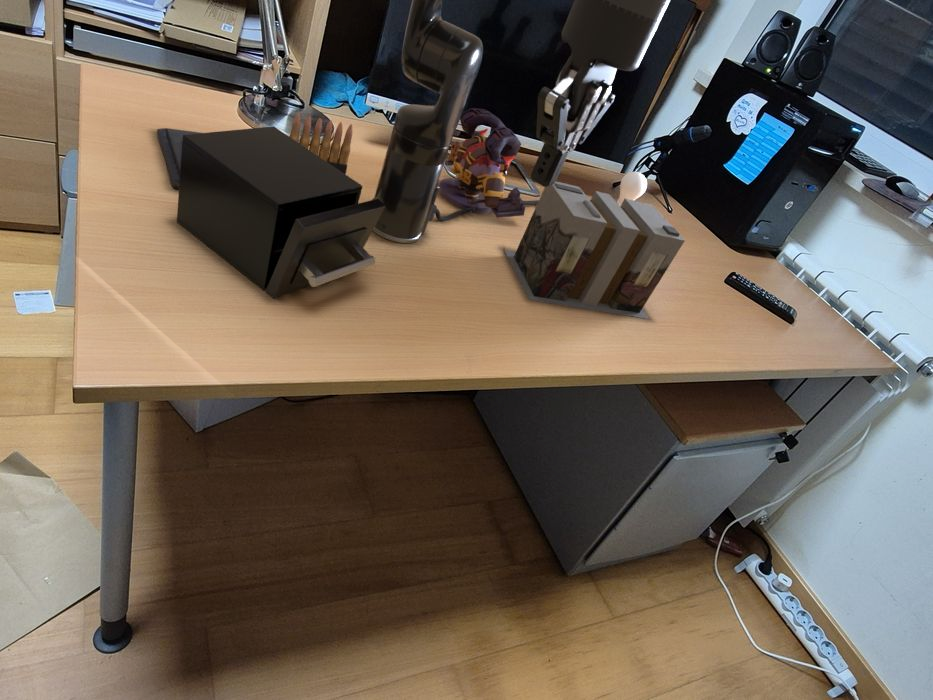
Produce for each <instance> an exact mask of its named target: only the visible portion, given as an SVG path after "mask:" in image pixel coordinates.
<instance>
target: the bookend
mask: <svg viewBox="0 0 933 700" xmlns="http://www.w3.org/2000/svg"><path fill="white" fill-rule="evenodd" d="M538 200H539V201H538V204H536V206H535V208H534V211H533V213H532V215H531V217H530V220H529V222H528V224H527V226H526V228H525V230H524V233H523V235H522V237H521V240H520V242H519V244H518V245H517V249H515V251H514V250H510V249H503V251H504V253H505V255H506V257H507V259H508V261H509V263H510V265H511V267H512V269H513V271H514V273H515V275H516V277H517V279H518V281H519V282H520V283H519V284H520V285H521V288H522V289H523V291H524V293H525V294H526V297H527V299H528V300H529V301H534V302H539V303H546V304H552V305H558V306H559V305H560V306H565V307H571V308H577V309H585V310H591V311H597V312H601V313H602V312H603V313H610V314H616V315H621V316H628V317H634V318H640V319H647V320H650V319H649V316H648V315H647V314H646V312H645V311H644V307H645V305H646V303H647V302H648V300H649V299H650V297H651V296H652V294H653V293H654V291H655V289H656V288H657V286H658V285H659V283H660V281H661V280H662V278H663V277H664V276H665V273H666V272H667V270H668V268H670V266H671V264H672V263H673V261H674V259H675V257H676V256H677V254H678V253H679V251H680V250H681V248H682V246H683V245H684V243H685V241H686V240H685V239H684V238H683V236H681V234H680V232H679V231H678V230H677V229H676V228H675V227H674V226H672V224H671V223H670V222H669V221H668V220H667V219H666V218H665V216H663V215H662V213H661V212H660V211H659V210H658V209H657V208H656V207H655V206H654V204H650V203H647V202H646V203H645V202H642V201H638V200H630V199H626V198H625V199H624V201H623V203H622V204H621V206H619V205H618V204H617V203H618V201H616V200H615V199H614V197H612V195H611V194H609V193H606V192H601V191H597V190H595V191H594V192H593V194H592V196H591V198H589V197H588V196H587V194H585V192H584V191H583V190H582V188H581V187H580V186H577V185H574V184H573V185H572V184H569V183H564V182H560V181H557V180H556V182H555V183H554V184H553V185H550V186H547V187H544V188H543V191H542V192H541V195H540V197H539V199H538Z"/></svg>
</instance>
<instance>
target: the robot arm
mask: <svg viewBox="0 0 933 700" xmlns="http://www.w3.org/2000/svg"><path fill="white" fill-rule="evenodd" d="M444 2H445V0H411V4H410V8H409V12H408V18H407V23H406V27H405V31H404V37H403V41H402V42H403V43H402V47H401V48H402V49H401V69H402V72H403V74H404V75H405V77H406V78H408V79H409V80H411V81H412V82H413V83H416V84H418V85H420V86H422V87H424V88H426V89H428V90H430V91H432V92H434V93H436V94H438V95H439V97H438V99H437V101H436V103H435V104H431V105H430V104H429V105H425V104H417V103H416V104H415V103H413V104H410V103H409V104H405V105H402V106H401V107H399V109H398V110H397V113H396V115H395V118H394V123H393V126H392V130H391V133H390V137H389V141H388V144H387V147H386V148H387V149H386V152H385V156H384V161H383V163H382V167H381V171H380V173H379V178H378V182H377V185H376V189H375V193H374V196H373V198H372V199H371V200H374V199H379V200H380V201H381V202H382V203H383V204H384V205H385V208H384V210H383V212H382V214H381V216H380V218H379V220H378V221H377V223H376V225H375V227H374V229H373V231H372V232H373V233H374V234H376V235H377V236H379V237H381V238H383V239H385V240H388V241H390V242H394V243H399V244H412V243H416V242H417V241H419V240H420V238H421V236H424V235H425V233H426V229H427V227H428V224H429V223H430V222H433V220H434V217H436V220H437V221H440V222H446V221H449V220H452V219H454V218H456V217H458V216H461V215H463V214H468V213H473V212H472V211H475V210H476V209H475V208H474V207H470V208H466V209H460V210H457V211H454V212H452V213H449V214H448V215H445V216H442V215H441V212H440V210H439V209H438V206H437V205H436V200H437V197H438V194H439V192H438V191H439V183H438V182H439V179H440V176H441V174H442V171H443V168H444V165H445V161H446V158H447V156H448V152H449V150H450V148H451V145H452V140H453V138H454V135H455V132H456V130H457V129H458V126H459V123H460V118H461V115H462V114H463V113H464V109H465V106H466V104H467V102H468V98H469V96H470V94H471V91H472V88H473V87H474V85H475V81H476V79H477V76H478V73H479V71H480V68H481V65H482V61H483V56H484V55H483V54H484V45H483V42H482V40H481V38H480V37H478V36H477V35H476V34H473V33H471V32H469V31H467V30H465V29H463V28H461V27H459V26H457V25H455V24H453V23H450V22H448V21H446V20H444V19H442V12H443V6H444ZM670 2H671V0H574V1H573V4H572V6H571V9H570V11H569V13H568V16H567V18H566V22H565V23H564V26H563V29H562V31H561V35H560V36H561V39H562V41H563V43H564V44H565V45H566V46H567V47H570V50H571V54H570V56H569V57H568V59H567V61H566V62H565V64H564V66H563V67H562V69H561V71H560V72H559V74H558V77H557V79H556V81H555V87H554V88H552V89H551V88H549V87H547V86H543V87H542V88H541V89H540V91H539V93H538V96H537V109H536V110H537V112H536V131H535V132H536V133H535V134H536V135H535V136H536V138H537V139H538V140H540V141H541V142H542V144H543V145H542V148H541V150H540V152H539V155H538V157H537V159H536V161H535V164H534V166H533V169H532V171H531V174H530V178H531V179H532V181H534V183H535V182H536V183H537V184H538V185H540V186H542V187H544V188H545V187H547V186H550V185H553V184H554V183H555V182H556V181H557V180H558V177H559V175H560V173H561V171H562V169H563V166H564V164H565V162H566V160H567V157H568V155H569V153H571V152H573V151H574V150H575V149H576V146H577V144H579V145H582V144H583V143H584V142H585V141H586V139H587V138H588V136H589V135H590V134H591V132H592V131H593V130H594V128H595V127H596V126H597V125H598V123H599V122H600V120H601V119H602V117H603V116H604V115H605V113H606V112H607V111H608V110H609V108H610V107H611V105H612V104H613V103H614V102H615V97H616V95H615V94H614V93H612V87H613V86H612V84H613V82H614V80H615V78H616V77H615V76H616V73H617V71H618V70H619V71H624V72H633V71H636V70H637V69H638V68H639V67H640V64H641V62H642V60H643V58H644V56H645V55H646V52H647V49H648V48H649V46H650V45H651V44H650V43H651V42H652V39H653V37H654V35H655V34H656V32H657V30H658V27H659V26H660V23H661V21H662V19H663V17H664V15H665V13H666V10H667V9H668V6H669V4H670ZM538 201H539V199H538V200H523V202H524V206H532V205H534V206H535V205H537V204H538Z"/></svg>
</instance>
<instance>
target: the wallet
mask: <svg viewBox="0 0 933 700" xmlns="http://www.w3.org/2000/svg"><path fill="white" fill-rule="evenodd" d="M198 133H200V132H198V131H191V130H184V129H177V128H169V127H168V128H167V127H162V128H157V129H156V134H157V139H158V141H159V145H160V148H161V151H162V154H163V158H164V160H165V164H166V169H167V171H168V176H169V180H170V184H171V185H172V187H173V189H176V190H178V191H179V182H180V167H181V152H182V141H183V140H182V139H183V135H188V134H198Z"/></svg>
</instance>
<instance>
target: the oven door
mask: <svg viewBox="0 0 933 700" xmlns="http://www.w3.org/2000/svg"><path fill="white" fill-rule="evenodd" d="M384 208H385V205H384V204H383V203H382V202H381V201H380V200H379V199H374V200H372V199H371V200H367V201H362V202H358V204H354V205H350V206H346V207H342V208H338V209H334V210H330V211H326V212H322V213H318V214H314V215H310V216H306V217H302V218H298V219H296V220H295V222H294V225H293V227H292V230H291V232H290V234H289V237H288V239H287V241H286V244H285V246H284V249H283V251H282V253H281V256H280V258H279V260H278V263H277V265H276V268H275V270H274V272H273V275H272V277H271V279H270V282H269V284H268V287H267V289H266V290H265V292H266V293H267V294H268V295H269V296H270V298H271V299H274V300H275V299H277V298H280V297H283V296H284V295H287V294H290V293H293V292H296V291H298V290H301V289H304V288H306V287H309V286H310V287H311V288H316V287H319V286H322V285H325V284H327V283H329V282H332V281H335V280H337V279H340V278H344V277H345V276H348V275H351V274H354V273H356V272H359V271H361V270H364V269H366V268H371V267H373V266H374V265H375V264H376V258H375V257H374V256H373V255H371V254H369V252H368V251H367V250H366V249H364V248H365V246H366V244H367V242H368V240H369V238H370V236H371V234H372V232H373V229H374V227H375V225H376V223H377V221H378V220H379V218H380V216H381V214H382V212H383V210H384Z"/></svg>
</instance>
